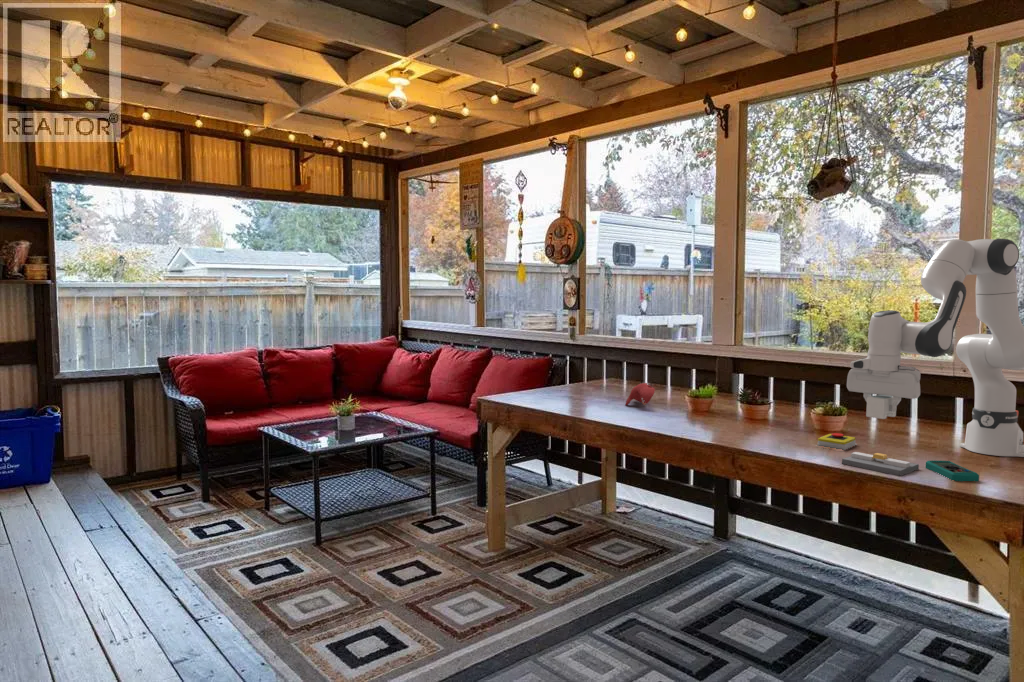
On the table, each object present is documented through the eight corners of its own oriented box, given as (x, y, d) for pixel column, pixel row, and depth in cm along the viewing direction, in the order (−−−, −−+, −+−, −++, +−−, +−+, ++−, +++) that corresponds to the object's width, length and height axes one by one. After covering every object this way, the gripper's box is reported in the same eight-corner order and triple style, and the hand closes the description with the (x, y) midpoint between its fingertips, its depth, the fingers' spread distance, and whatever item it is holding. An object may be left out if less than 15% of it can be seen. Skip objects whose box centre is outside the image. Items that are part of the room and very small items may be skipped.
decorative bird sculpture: (641, 420, 298) (664, 396, 297) (626, 406, 297) (649, 382, 296) (630, 409, 326) (651, 387, 325) (616, 396, 325) (637, 374, 325)
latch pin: (876, 456, 204) (876, 452, 204) (886, 458, 202) (887, 454, 202) (872, 457, 203) (873, 454, 203) (883, 459, 200) (883, 455, 200)
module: (878, 413, 206) (879, 394, 205) (895, 416, 202) (896, 396, 201) (866, 416, 201) (867, 396, 200) (883, 419, 197) (884, 398, 196)
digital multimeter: (953, 483, 186) (954, 472, 186) (924, 468, 201) (924, 459, 201) (980, 483, 186) (981, 473, 185) (949, 469, 200) (949, 459, 200)
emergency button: (858, 433, 231) (842, 440, 221) (858, 445, 232) (842, 453, 221) (830, 429, 238) (814, 435, 227) (830, 441, 238) (813, 448, 228)
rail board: (861, 457, 213) (861, 449, 213) (918, 469, 199) (918, 460, 199) (841, 463, 206) (842, 455, 205) (900, 475, 192) (900, 466, 192)
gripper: (925, 366, 194) (923, 413, 195) (855, 360, 210) (853, 404, 211) (915, 368, 190) (913, 415, 191) (845, 362, 206) (843, 405, 207)
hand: (881, 409), depth 201 cm, fingers closed on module, 5 cm apart
